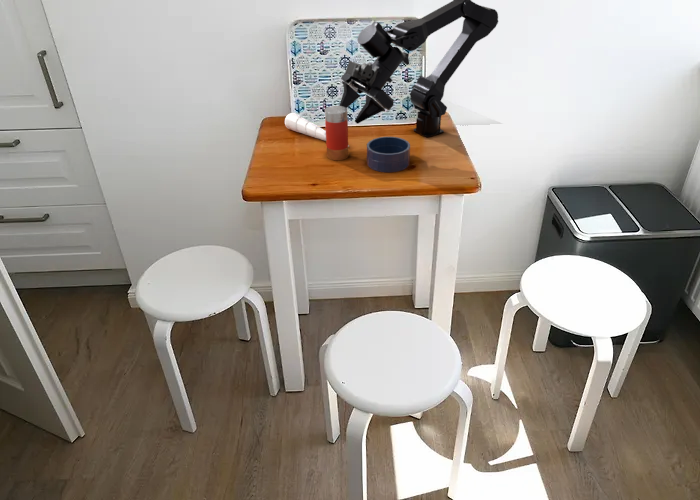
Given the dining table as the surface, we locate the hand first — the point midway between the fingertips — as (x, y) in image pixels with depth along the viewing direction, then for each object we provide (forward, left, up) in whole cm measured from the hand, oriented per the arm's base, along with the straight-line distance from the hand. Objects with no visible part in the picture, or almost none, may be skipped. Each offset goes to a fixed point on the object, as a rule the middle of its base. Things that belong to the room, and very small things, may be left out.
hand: (347, 116), depth 152 cm
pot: (-5, +11, -10) cm, 16 cm away
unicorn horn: (+1, -15, -10) cm, 18 cm away
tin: (+3, 0, -10) cm, 11 cm away
